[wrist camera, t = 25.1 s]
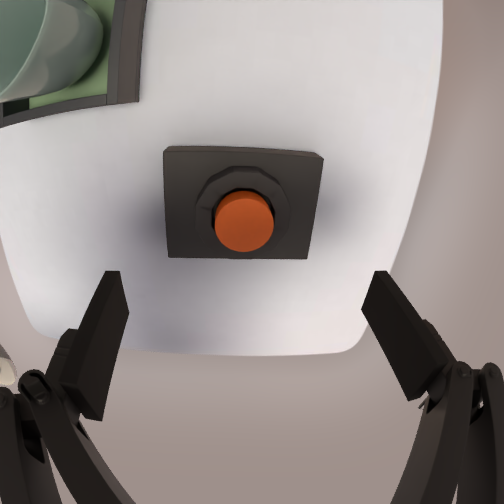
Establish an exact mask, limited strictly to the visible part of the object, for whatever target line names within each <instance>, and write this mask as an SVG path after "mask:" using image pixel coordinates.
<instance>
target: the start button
mask: <svg viewBox="0 0 504 504" xmlns="http://www.w3.org/2000/svg"><path fill="white" fill-rule="evenodd" d="M273 228H274V221H273V216H272V214H271V211H270V209H269V206H268V204H267V203H266V201H265V200H264V199H263V198H262V197H261V196H260V195H258V194H256V193H254V192H250V191H237V192H233V193H231V194H229V195H227V196H226V197H225V198H224V199H223V200H222V201H221V202H220V203H219V205H218V207H217V209H216V214H215V231H216V235H217V237H218V239H219V240H220V242H221V243H222V244H223V245H225V246H226V247H228V248H229V249H231V250H234V251H239V252H248V251H253V250H255V249H258V248H260V247H261V246H263V245H264V244H265V243H266V242H267V241H268V240H269V238H270V236H271V234H272V232H273Z"/></svg>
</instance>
